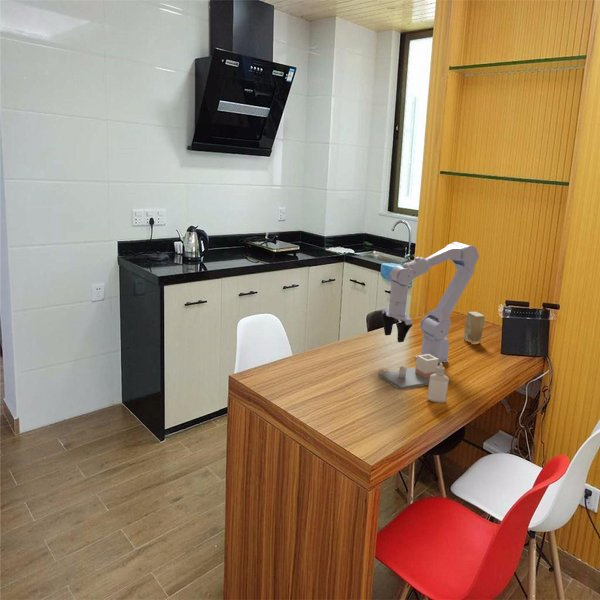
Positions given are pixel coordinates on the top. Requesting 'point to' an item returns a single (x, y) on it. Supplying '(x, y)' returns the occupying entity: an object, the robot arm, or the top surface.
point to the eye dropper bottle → (438, 385)
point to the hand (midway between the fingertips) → (394, 338)
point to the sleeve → (426, 365)
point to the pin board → (405, 378)
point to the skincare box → (474, 327)
